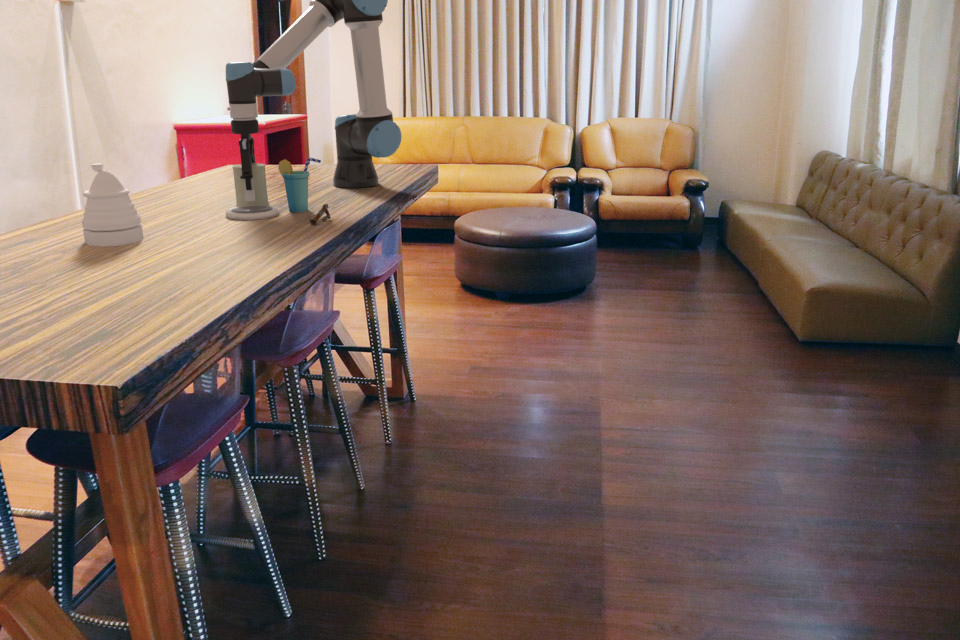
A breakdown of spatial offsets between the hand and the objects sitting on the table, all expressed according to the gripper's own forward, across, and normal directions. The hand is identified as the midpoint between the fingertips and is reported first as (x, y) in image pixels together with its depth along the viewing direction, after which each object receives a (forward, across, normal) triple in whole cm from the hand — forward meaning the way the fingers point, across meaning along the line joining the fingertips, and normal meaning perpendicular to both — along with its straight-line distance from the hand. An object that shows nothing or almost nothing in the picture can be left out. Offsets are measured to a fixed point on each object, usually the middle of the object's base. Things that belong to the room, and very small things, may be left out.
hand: (252, 198), depth 236 cm
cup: (+2, +12, +14) cm, 19 cm away
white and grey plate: (+2, +16, +1) cm, 16 cm away
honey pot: (+2, +42, -28) cm, 51 cm away
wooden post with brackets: (+3, +29, +20) cm, 36 cm away
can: (+2, 0, 0) cm, 2 cm away
